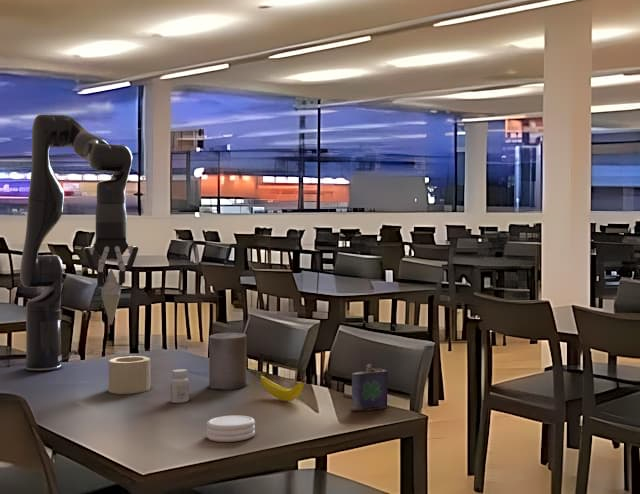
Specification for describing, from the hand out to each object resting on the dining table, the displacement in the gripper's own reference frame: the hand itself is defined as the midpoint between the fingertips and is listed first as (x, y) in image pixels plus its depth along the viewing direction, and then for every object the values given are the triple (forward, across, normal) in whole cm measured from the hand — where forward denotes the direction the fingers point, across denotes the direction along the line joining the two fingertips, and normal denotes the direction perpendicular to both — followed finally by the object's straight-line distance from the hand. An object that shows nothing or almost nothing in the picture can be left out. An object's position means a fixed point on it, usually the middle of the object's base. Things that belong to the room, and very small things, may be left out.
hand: (111, 285), depth 251 cm
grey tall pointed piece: (+10, 0, 0) cm, 10 cm away
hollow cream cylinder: (+27, -4, +2) cm, 28 cm away
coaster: (+28, -17, +62) cm, 70 cm away
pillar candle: (+28, -28, +9) cm, 41 cm away
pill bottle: (+28, -13, +22) cm, 38 cm away
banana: (+28, -36, +32) cm, 56 cm away
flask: (+28, -53, +51) cm, 78 cm away
